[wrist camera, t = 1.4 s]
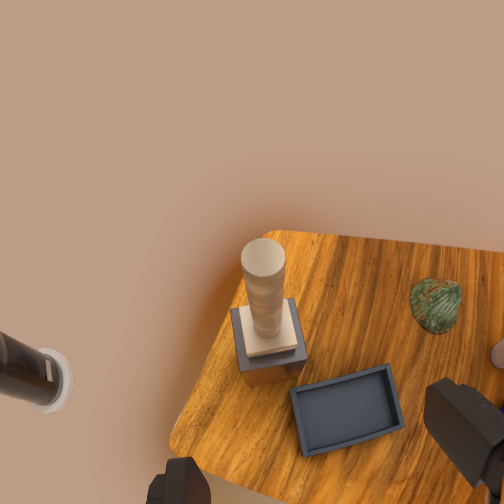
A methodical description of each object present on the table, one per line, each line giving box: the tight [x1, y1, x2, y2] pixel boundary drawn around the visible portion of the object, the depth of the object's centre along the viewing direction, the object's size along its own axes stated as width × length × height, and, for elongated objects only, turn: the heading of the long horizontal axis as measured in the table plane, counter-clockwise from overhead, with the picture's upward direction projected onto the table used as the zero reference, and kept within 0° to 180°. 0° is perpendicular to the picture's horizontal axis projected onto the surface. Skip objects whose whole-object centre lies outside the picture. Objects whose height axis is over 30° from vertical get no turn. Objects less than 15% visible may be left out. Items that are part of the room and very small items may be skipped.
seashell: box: [410, 277, 462, 334], centre depth 45 cm, size 10×4×10 cm
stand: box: [230, 298, 308, 387], centre depth 38 cm, size 7×7×14 cm
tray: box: [289, 363, 405, 457], centre depth 38 cm, size 14×10×3 cm
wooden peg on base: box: [239, 238, 297, 360], centre depth 25 cm, size 5×5×16 cm
